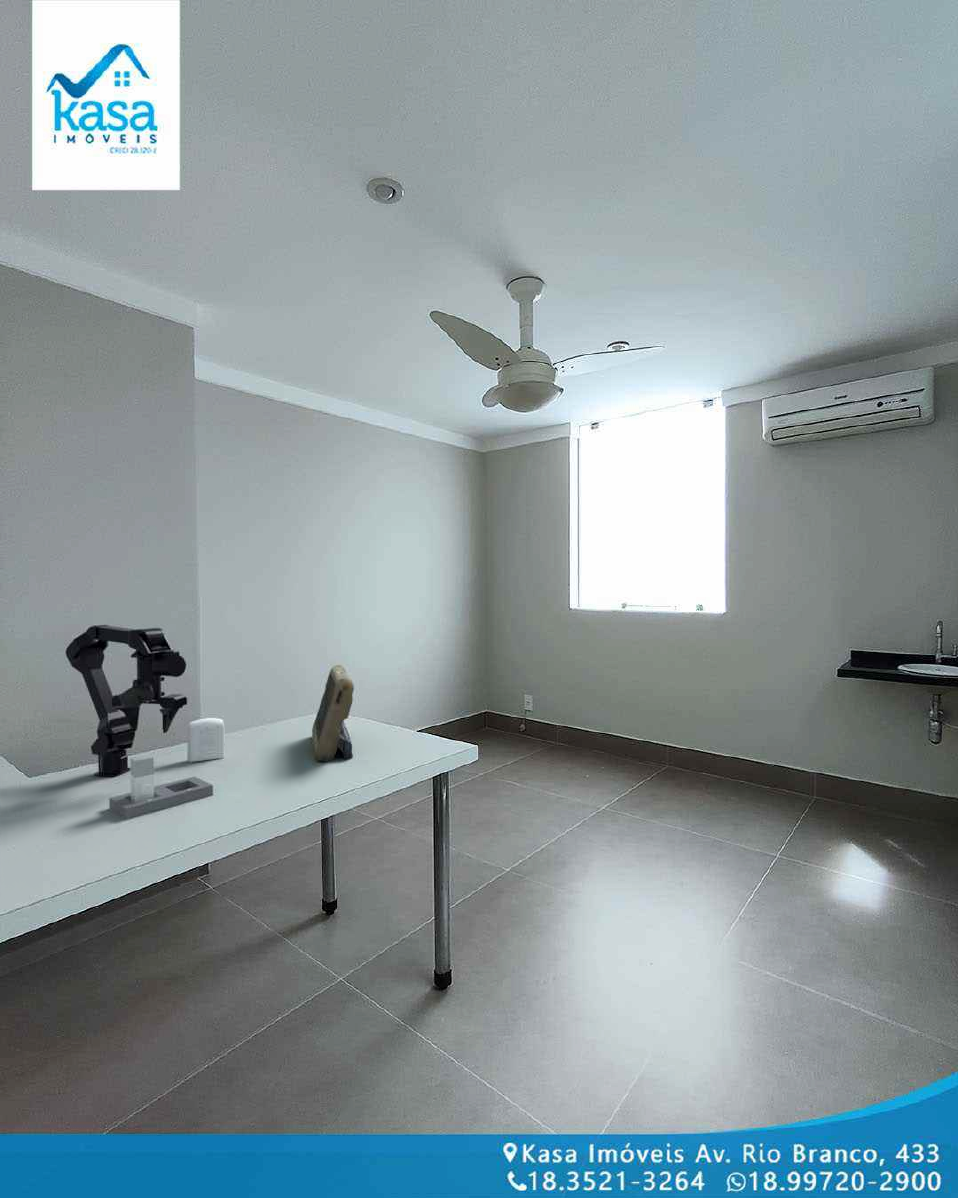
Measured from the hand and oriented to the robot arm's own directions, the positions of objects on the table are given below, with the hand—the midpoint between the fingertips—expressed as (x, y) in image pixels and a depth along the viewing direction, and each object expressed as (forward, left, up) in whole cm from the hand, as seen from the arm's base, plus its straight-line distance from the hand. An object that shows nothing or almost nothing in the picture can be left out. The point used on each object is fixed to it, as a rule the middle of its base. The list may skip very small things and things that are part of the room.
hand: (149, 732), depth 159 cm
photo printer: (+4, +19, -13) cm, 23 cm away
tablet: (+36, +38, -13) cm, 54 cm away
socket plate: (+14, -14, -13) cm, 24 cm away
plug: (+12, -18, -13) cm, 25 cm away
